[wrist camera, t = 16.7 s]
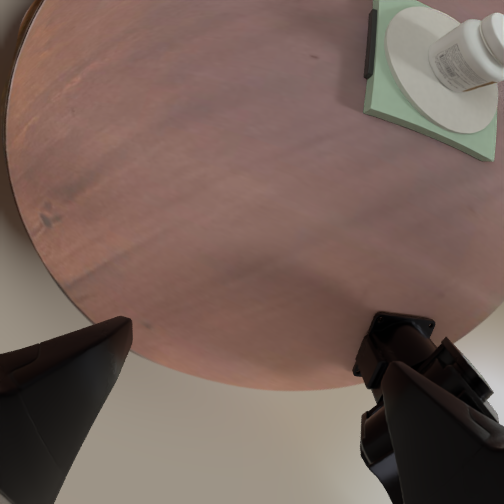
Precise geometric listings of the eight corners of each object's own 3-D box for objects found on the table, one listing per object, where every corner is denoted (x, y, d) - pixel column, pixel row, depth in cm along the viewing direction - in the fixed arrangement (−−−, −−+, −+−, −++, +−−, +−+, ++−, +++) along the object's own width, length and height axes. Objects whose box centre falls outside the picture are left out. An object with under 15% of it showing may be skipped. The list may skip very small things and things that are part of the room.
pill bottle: (468, 103, 15) (536, 88, 7) (423, 74, 15) (486, 40, 7) (473, 61, 14) (532, 36, 6) (429, 32, 13) (483, -8, 6)
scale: (483, 49, 15) (497, 42, 12) (481, 161, 18) (499, 162, 16) (368, -7, 15) (376, -21, 13) (357, 111, 18) (368, 104, 16)
